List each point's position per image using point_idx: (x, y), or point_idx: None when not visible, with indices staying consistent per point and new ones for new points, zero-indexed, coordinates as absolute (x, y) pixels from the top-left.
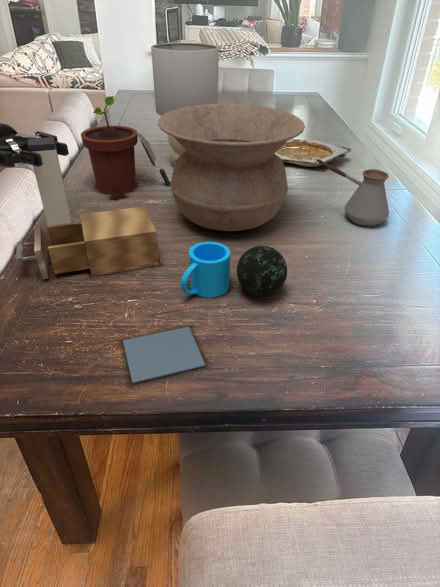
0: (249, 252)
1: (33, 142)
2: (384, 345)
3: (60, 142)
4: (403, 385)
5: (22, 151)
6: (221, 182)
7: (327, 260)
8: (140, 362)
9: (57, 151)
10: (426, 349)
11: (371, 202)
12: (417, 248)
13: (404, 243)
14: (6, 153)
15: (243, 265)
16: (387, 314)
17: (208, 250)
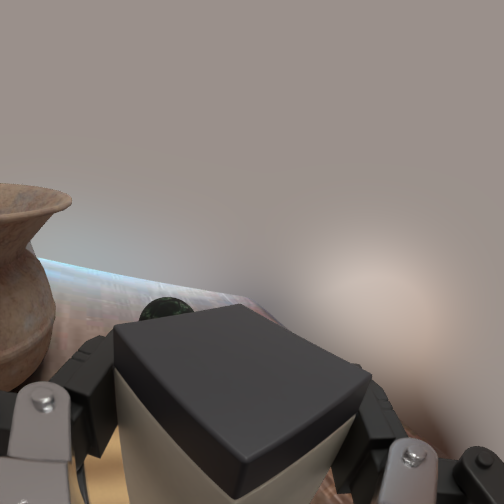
0: (173, 311)
1: (309, 373)
2: (212, 303)
3: (100, 343)
4: (246, 303)
5: (393, 435)
6: (36, 281)
7: (95, 309)
8: None
9: (116, 407)
10: (207, 292)
11: (32, 253)
12: (75, 270)
13: (66, 273)
14: (490, 453)
15: None
16: (174, 297)
17: None
